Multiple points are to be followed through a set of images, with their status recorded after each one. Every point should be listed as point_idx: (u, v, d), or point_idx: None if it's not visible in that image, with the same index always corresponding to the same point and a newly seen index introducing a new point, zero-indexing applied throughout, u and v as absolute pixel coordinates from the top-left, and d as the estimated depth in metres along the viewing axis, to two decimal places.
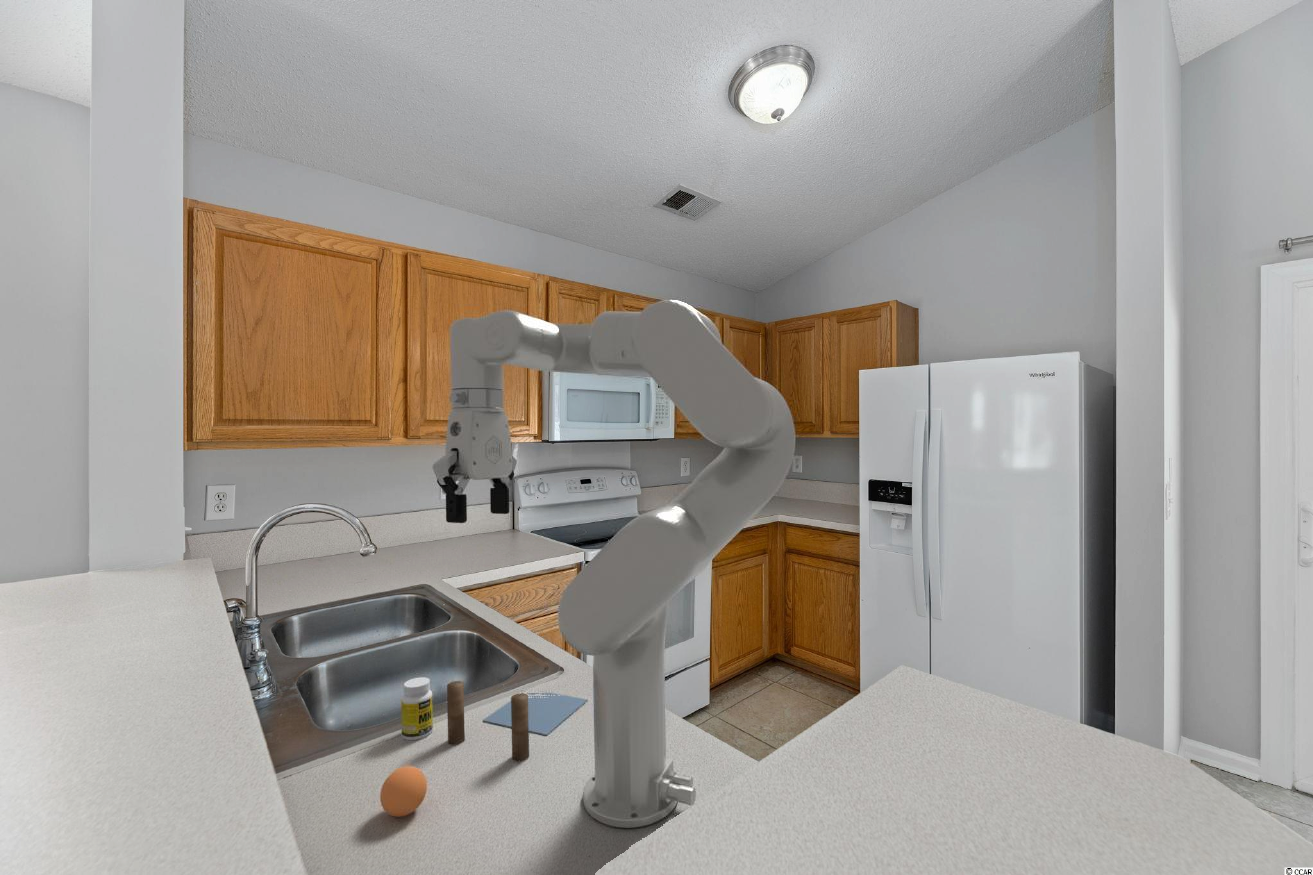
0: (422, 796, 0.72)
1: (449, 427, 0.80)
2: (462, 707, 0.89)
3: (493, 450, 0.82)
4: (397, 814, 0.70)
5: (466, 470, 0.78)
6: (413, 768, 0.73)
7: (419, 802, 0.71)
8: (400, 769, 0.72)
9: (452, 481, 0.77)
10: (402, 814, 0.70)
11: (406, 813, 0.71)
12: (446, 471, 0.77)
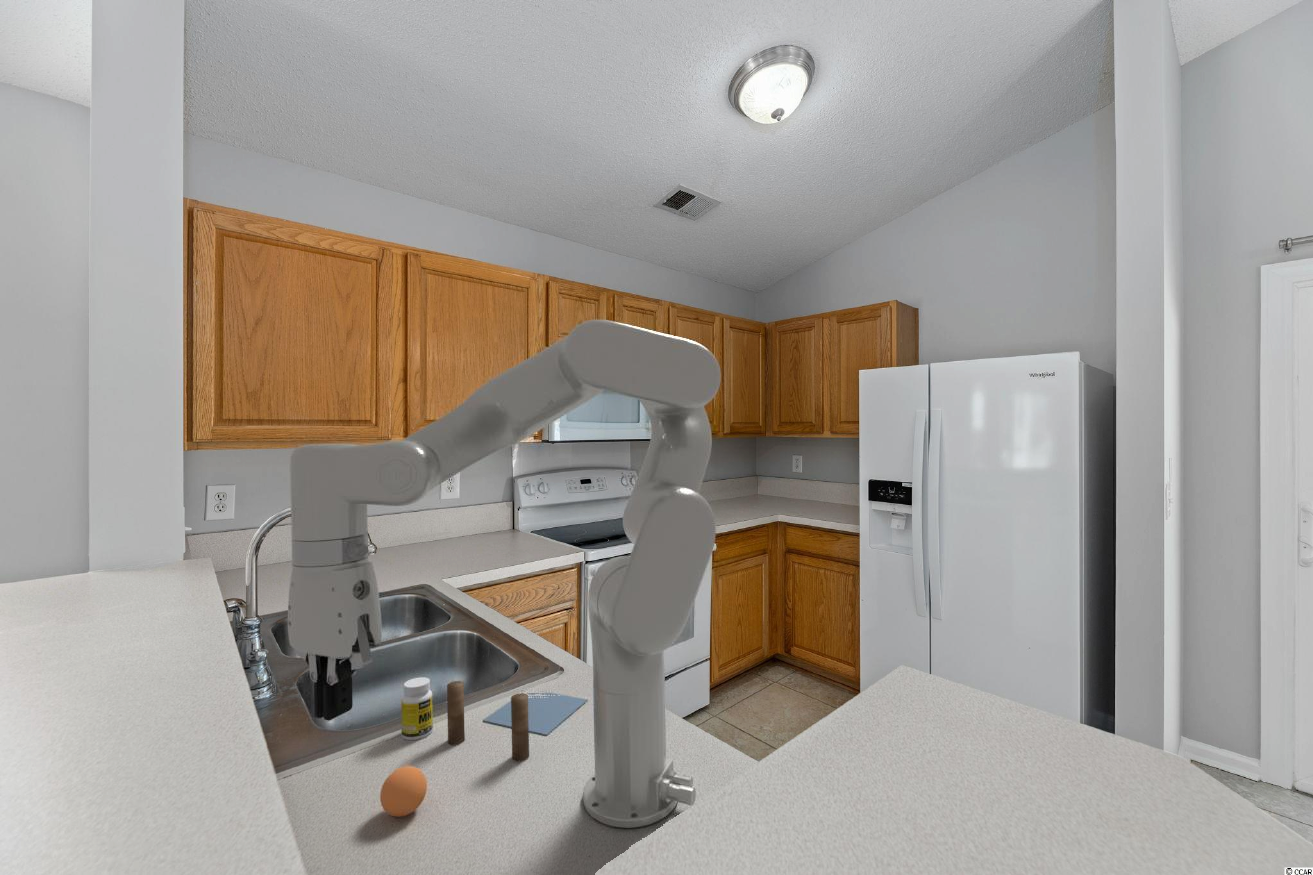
0: (422, 796, 0.72)
1: (350, 590, 0.61)
2: (462, 707, 0.89)
3: None
4: (397, 814, 0.70)
5: (379, 636, 0.64)
6: (413, 768, 0.73)
7: (419, 802, 0.71)
8: (400, 769, 0.72)
9: None
10: (402, 814, 0.70)
11: (406, 813, 0.71)
12: None
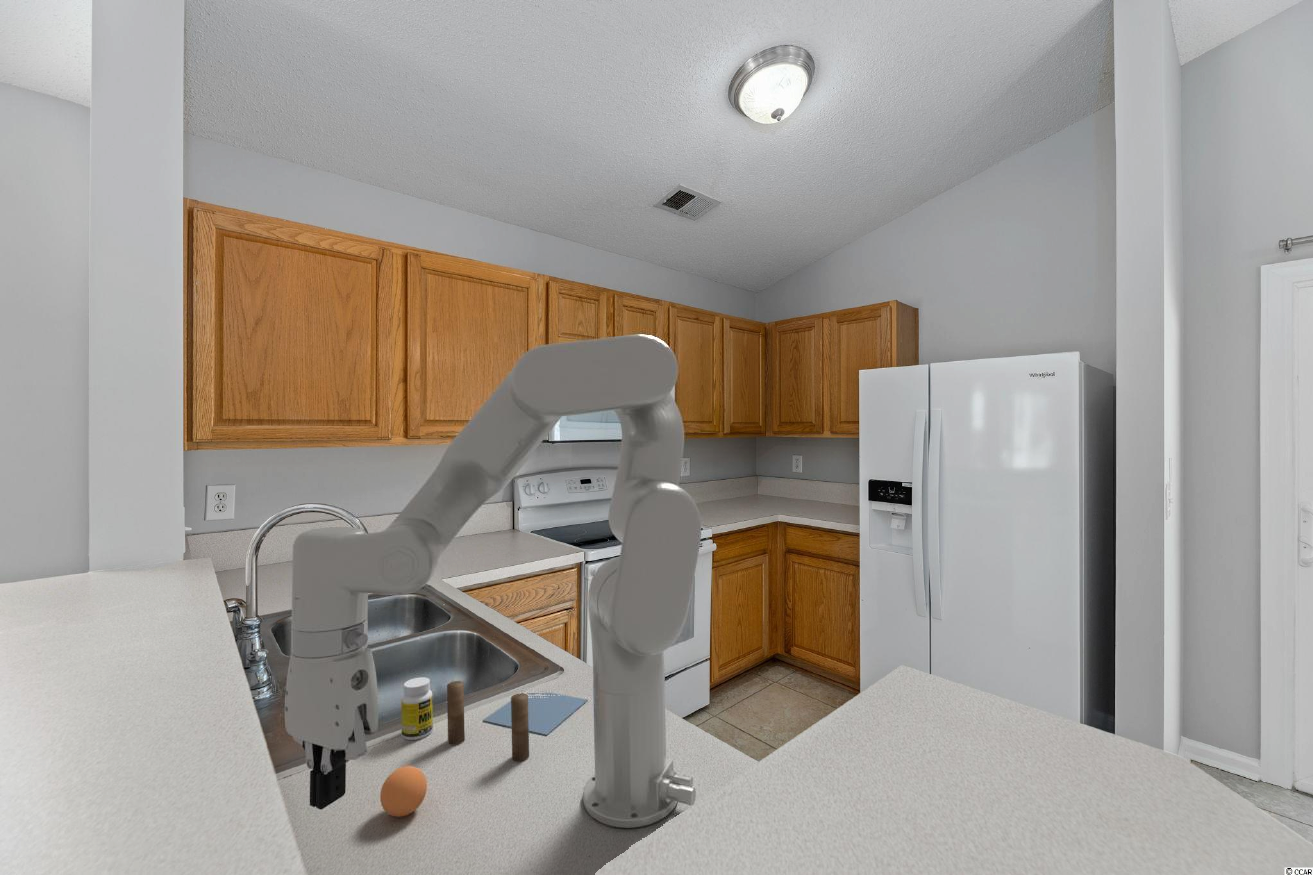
0: (422, 796, 0.72)
1: (348, 681, 0.61)
2: (462, 707, 0.89)
3: None
4: (397, 814, 0.70)
5: (376, 724, 0.63)
6: (413, 768, 0.73)
7: (419, 802, 0.71)
8: (400, 769, 0.72)
9: None
10: (402, 814, 0.70)
11: (406, 813, 0.71)
12: None
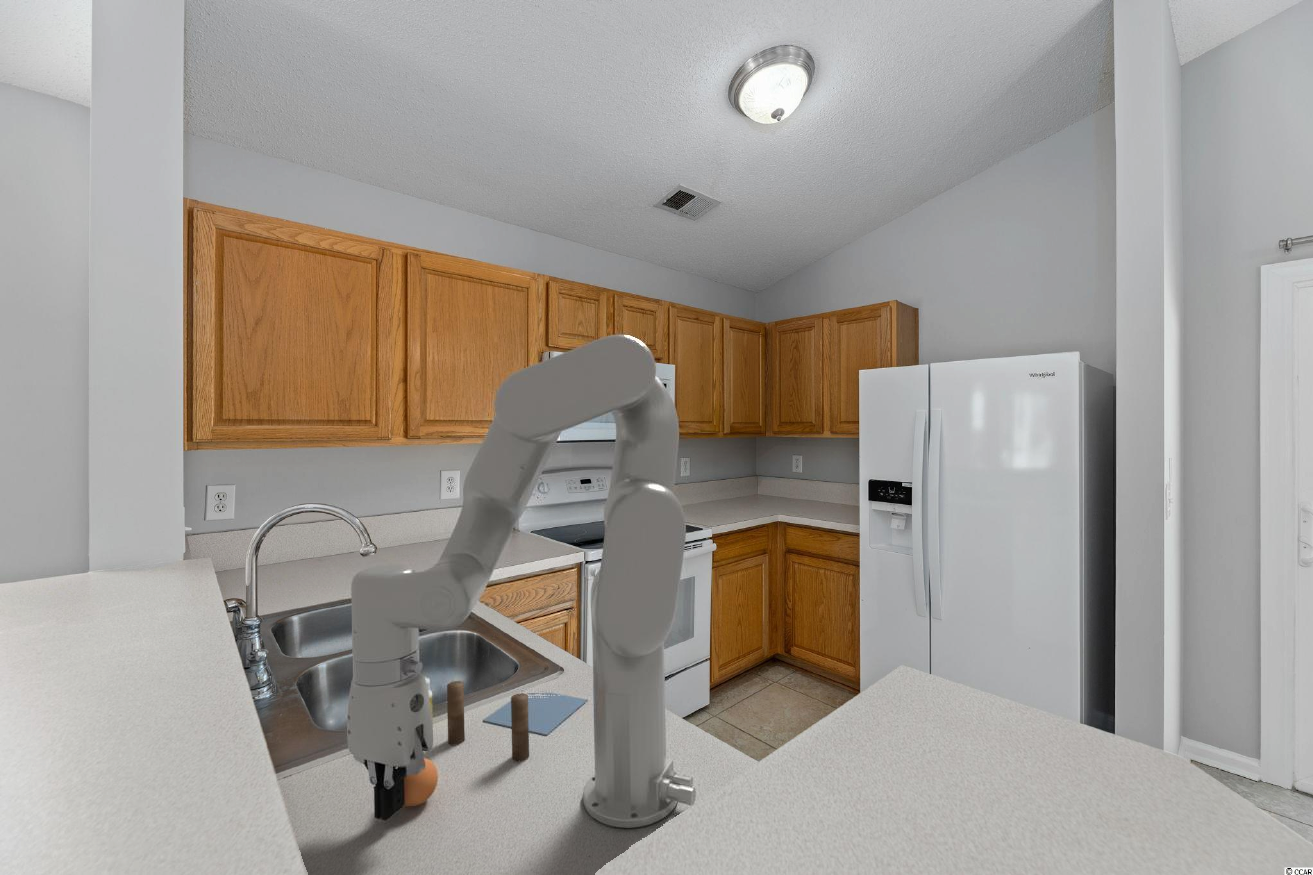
0: (432, 788, 0.73)
1: (407, 705, 0.67)
2: (462, 707, 0.89)
3: None
4: (406, 796, 0.72)
5: (431, 742, 0.70)
6: (430, 761, 0.76)
7: (428, 793, 0.73)
8: None
9: None
10: (410, 798, 0.72)
11: (413, 799, 0.72)
12: None
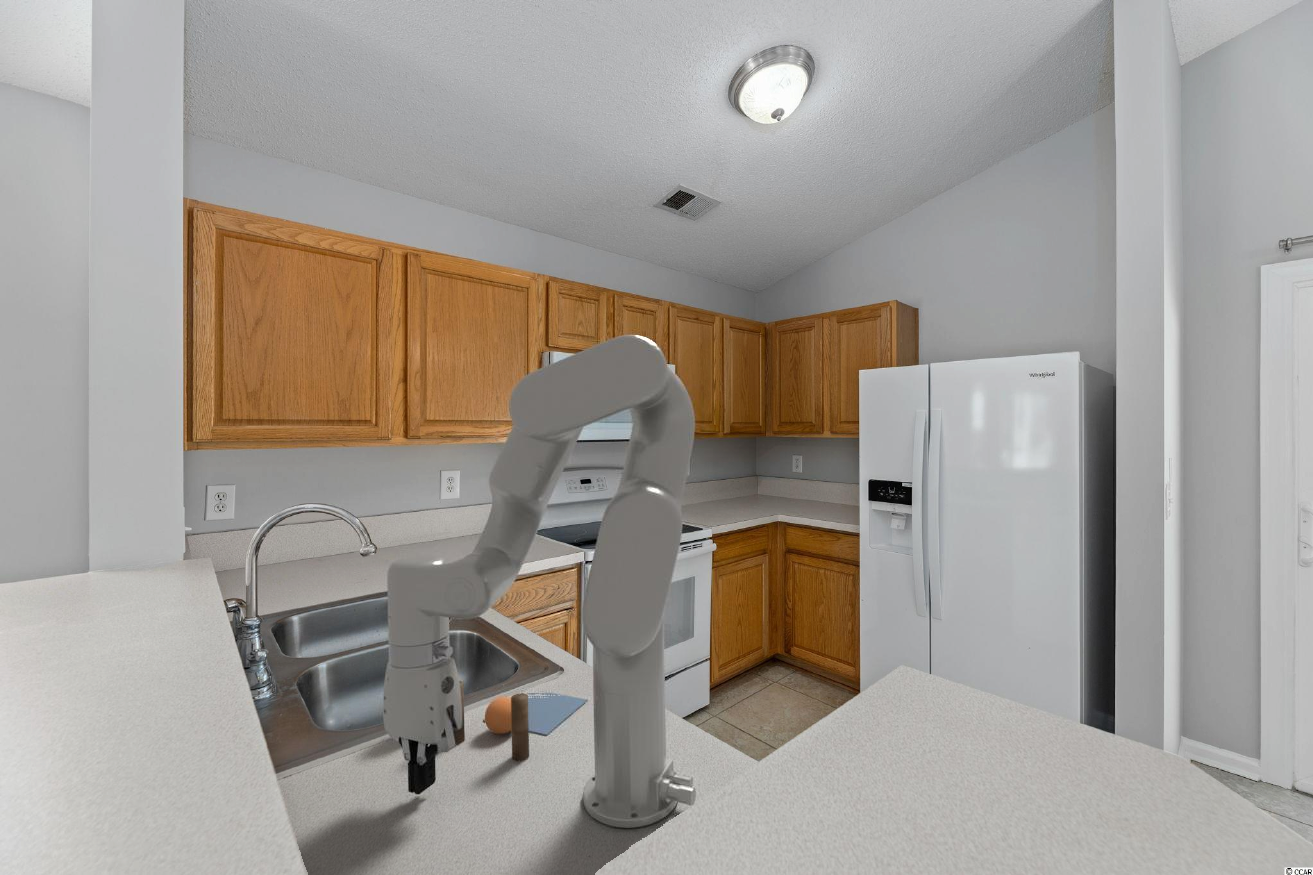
0: None
1: (439, 686, 0.72)
2: (462, 707, 0.89)
3: None
4: (498, 715, 0.89)
5: (461, 722, 0.75)
6: None
7: None
8: None
9: None
10: (500, 718, 0.89)
11: (502, 720, 0.89)
12: None
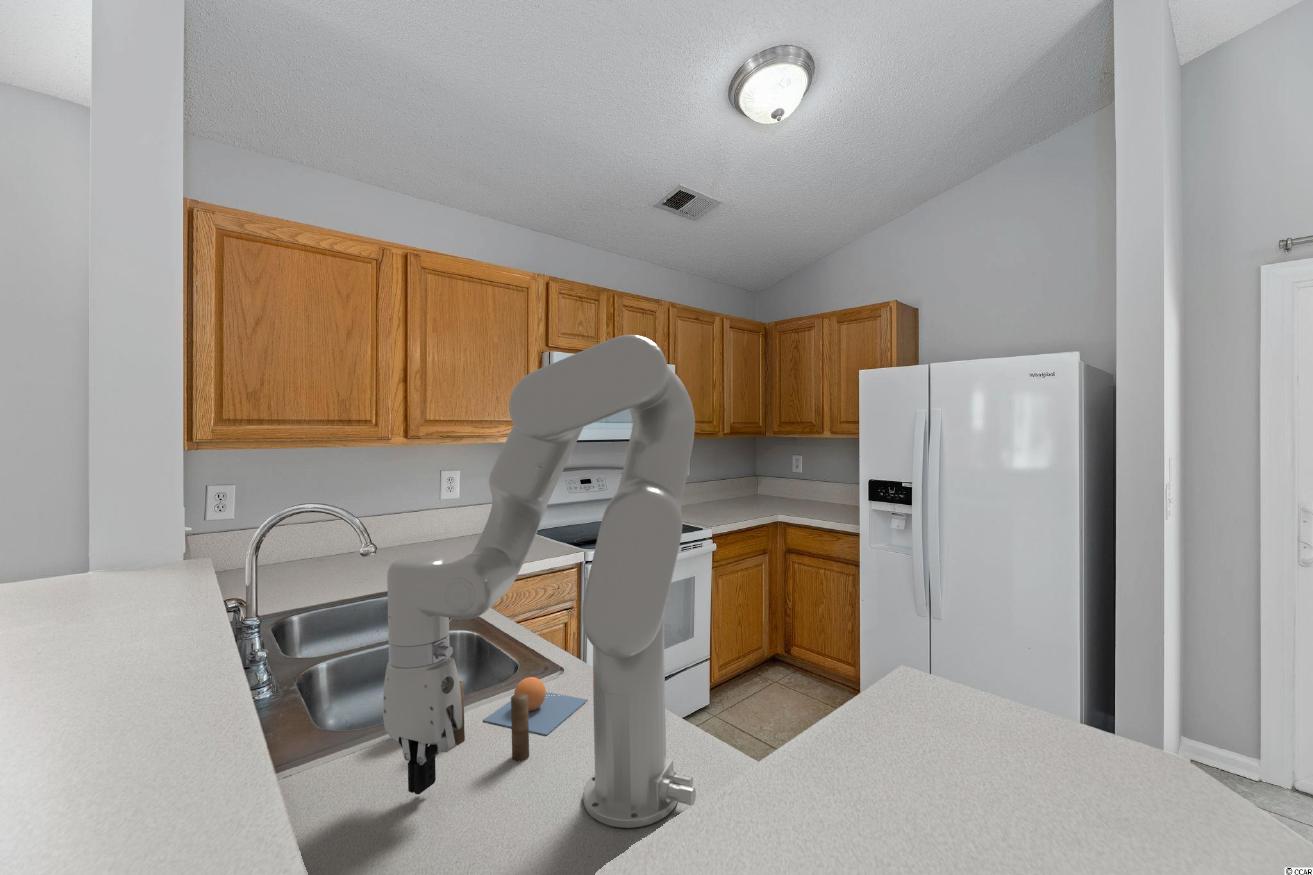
0: (543, 693, 0.99)
1: (439, 686, 0.72)
2: (462, 707, 0.89)
3: None
4: None
5: (461, 722, 0.75)
6: None
7: (544, 691, 0.99)
8: None
9: None
10: None
11: None
12: None
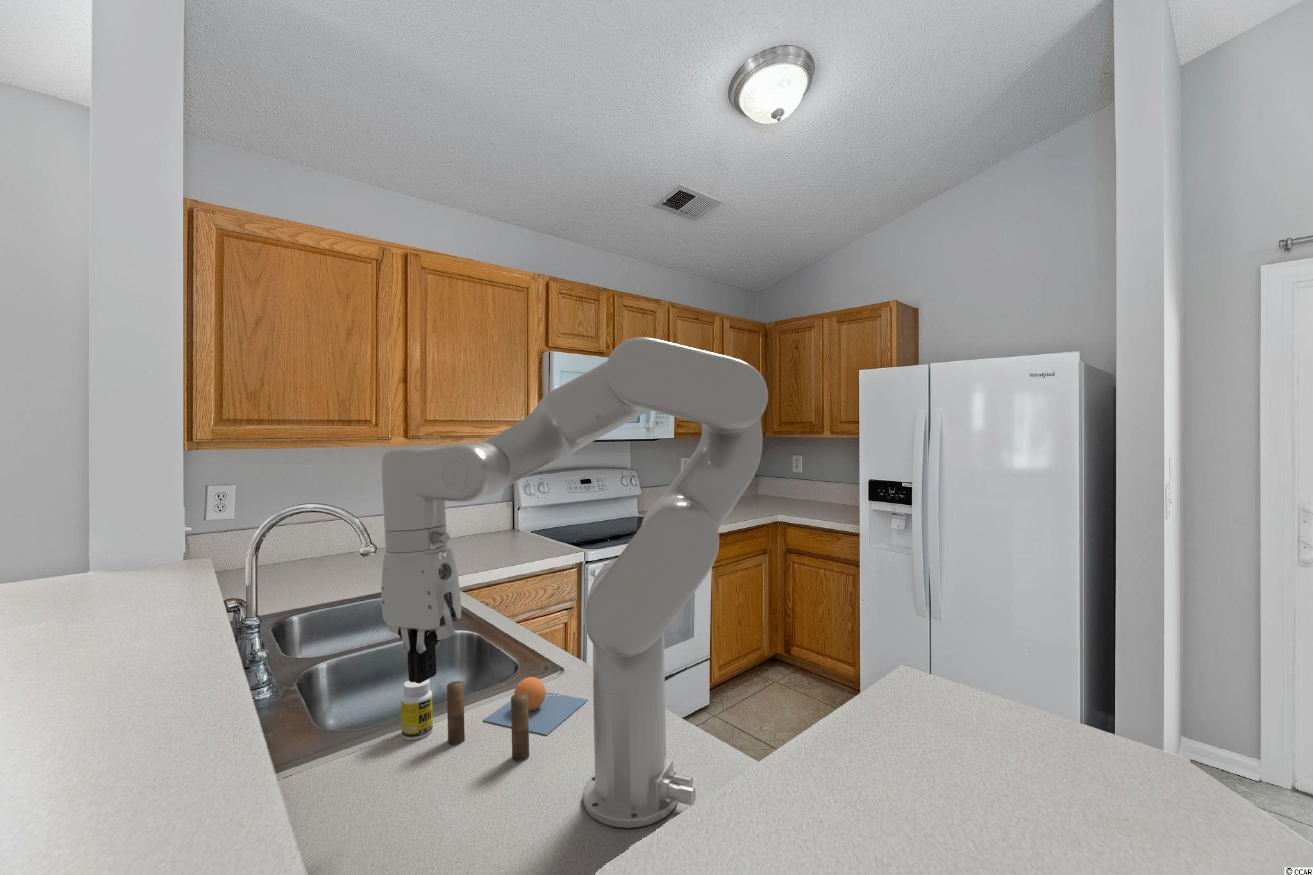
0: (543, 693, 0.99)
1: (436, 572, 0.71)
2: (462, 707, 0.89)
3: None
4: None
5: (460, 612, 0.74)
6: None
7: (544, 691, 0.99)
8: None
9: None
10: None
11: None
12: None
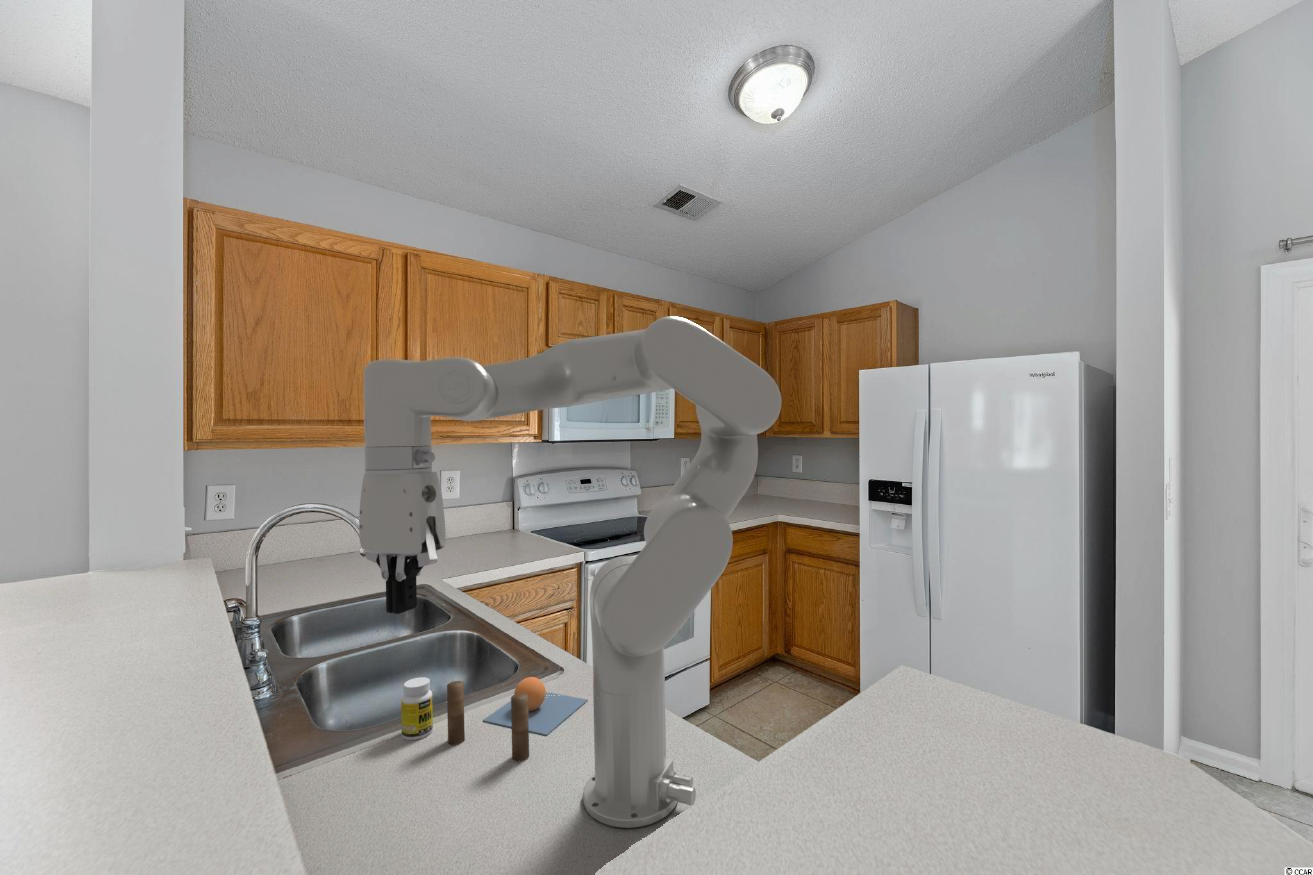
0: (543, 693, 0.99)
1: (419, 492, 0.66)
2: (462, 707, 0.89)
3: None
4: None
5: (444, 539, 0.69)
6: None
7: (544, 691, 0.99)
8: None
9: None
10: None
11: None
12: None
